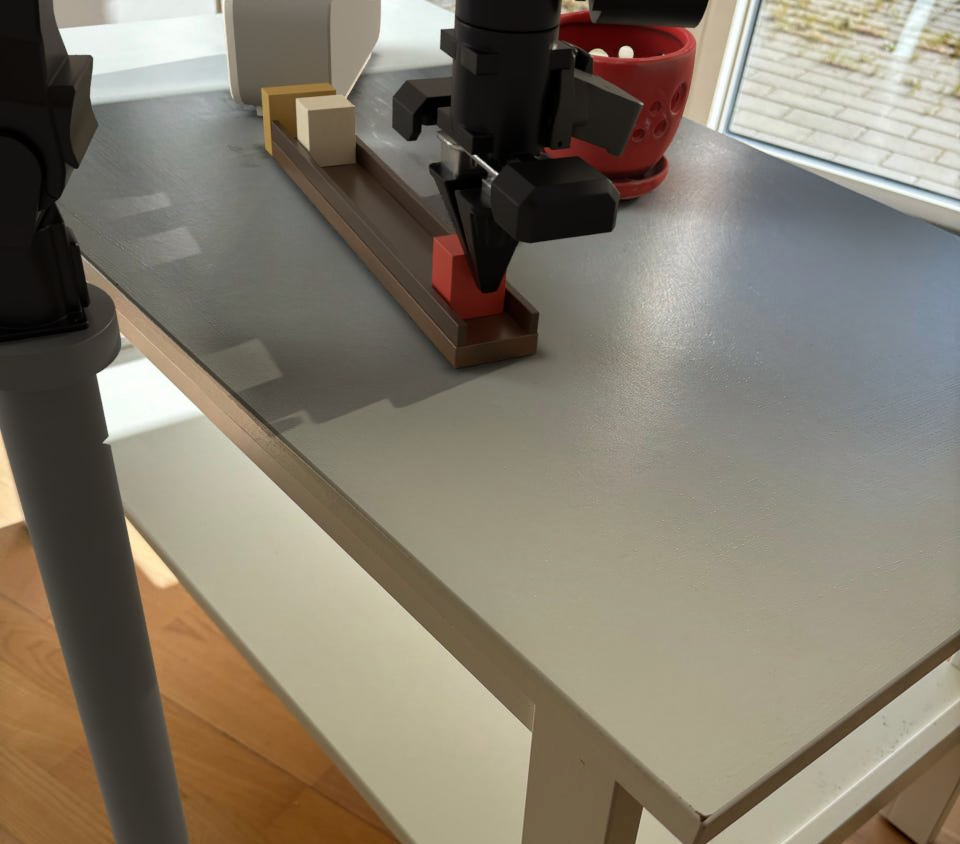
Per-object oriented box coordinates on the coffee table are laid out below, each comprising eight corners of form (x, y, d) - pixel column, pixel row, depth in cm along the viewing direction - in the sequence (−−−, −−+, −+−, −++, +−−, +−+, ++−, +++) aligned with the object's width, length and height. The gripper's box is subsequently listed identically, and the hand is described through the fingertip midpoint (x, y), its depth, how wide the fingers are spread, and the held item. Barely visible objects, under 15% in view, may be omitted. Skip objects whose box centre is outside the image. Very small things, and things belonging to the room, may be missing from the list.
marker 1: (310, 168, 89) (307, 110, 86) (298, 155, 91) (295, 98, 88) (356, 163, 90) (355, 106, 87) (343, 150, 92) (342, 94, 89)
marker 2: (449, 322, 71) (452, 256, 68) (430, 302, 73) (433, 236, 70) (503, 313, 73) (509, 248, 70) (484, 293, 75) (488, 229, 72)
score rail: (454, 369, 70) (456, 326, 68) (272, 156, 94) (269, 120, 92) (536, 354, 72) (541, 312, 70) (337, 150, 96) (336, 114, 94)
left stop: (272, 156, 94) (268, 95, 91) (265, 148, 95) (260, 87, 92) (337, 150, 96) (336, 89, 93) (330, 142, 98) (328, 82, 94)
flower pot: (538, 145, 100) (552, -1, 92) (679, 168, 99) (707, 20, 90) (505, 197, 91) (517, 39, 83) (660, 223, 89) (688, 64, 81)
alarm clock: (296, 39, 119) (291, -89, 111) (381, 48, 119) (381, -80, 111) (231, 123, 99) (218, -26, 91) (332, 134, 99) (328, -14, 91)
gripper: (728, 61, 56) (671, 339, 66) (556, -30, 68) (532, 218, 78) (536, 76, 52) (508, 369, 63) (389, -24, 64) (388, 237, 74)
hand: (487, 290), depth 70 cm, fingers closed
